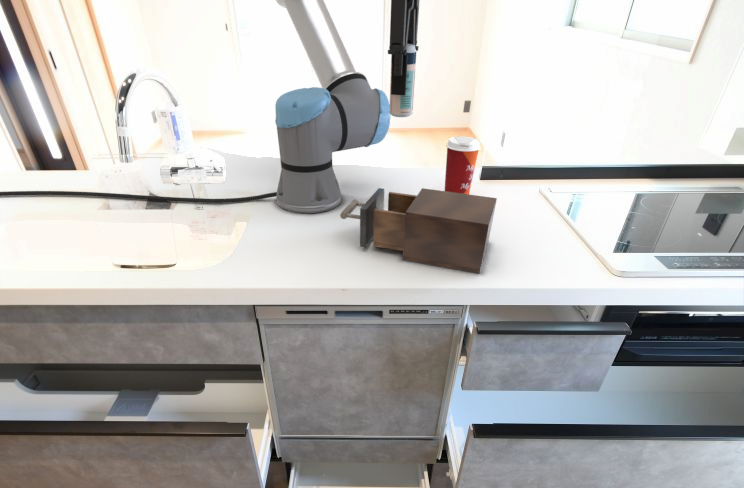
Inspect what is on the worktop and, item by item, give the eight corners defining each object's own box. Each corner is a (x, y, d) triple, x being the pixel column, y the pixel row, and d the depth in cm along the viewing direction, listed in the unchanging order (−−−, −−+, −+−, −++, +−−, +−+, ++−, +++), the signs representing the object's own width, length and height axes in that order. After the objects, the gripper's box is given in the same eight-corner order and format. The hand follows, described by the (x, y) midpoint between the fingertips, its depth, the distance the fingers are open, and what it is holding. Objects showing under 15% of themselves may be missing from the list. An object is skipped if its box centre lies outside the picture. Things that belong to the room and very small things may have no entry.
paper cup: (471, 208, 105) (481, 146, 96) (438, 205, 106) (445, 143, 97) (471, 196, 111) (481, 136, 102) (441, 193, 112) (448, 134, 103)
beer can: (397, 111, 92) (400, 42, 85) (417, 115, 90) (422, 44, 83) (384, 115, 89) (386, 44, 82) (403, 119, 87) (407, 46, 80)
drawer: (336, 243, 88) (335, 204, 83) (356, 220, 96) (356, 184, 91) (427, 258, 83) (431, 219, 79) (439, 233, 92) (444, 196, 87)
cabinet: (402, 260, 85) (405, 212, 79) (418, 232, 94) (422, 188, 88) (479, 273, 81) (489, 224, 75) (487, 244, 90) (496, 198, 85)
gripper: (421, -74, 65) (410, 102, 79) (441, -64, 79) (428, 85, 93) (372, -74, 67) (370, 99, 81) (399, -63, 80) (393, 83, 95)
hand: (401, 91), depth 87 cm, fingers closed on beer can, 5 cm apart
